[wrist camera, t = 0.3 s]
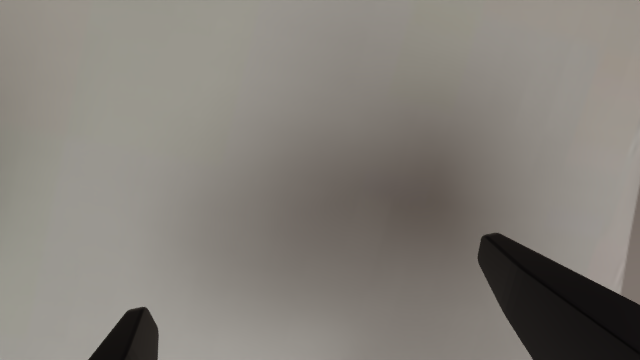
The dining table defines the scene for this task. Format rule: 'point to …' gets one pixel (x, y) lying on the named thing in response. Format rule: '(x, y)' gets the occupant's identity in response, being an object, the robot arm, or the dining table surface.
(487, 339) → the dining table surface
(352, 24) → the dining table surface
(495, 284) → the robot arm
